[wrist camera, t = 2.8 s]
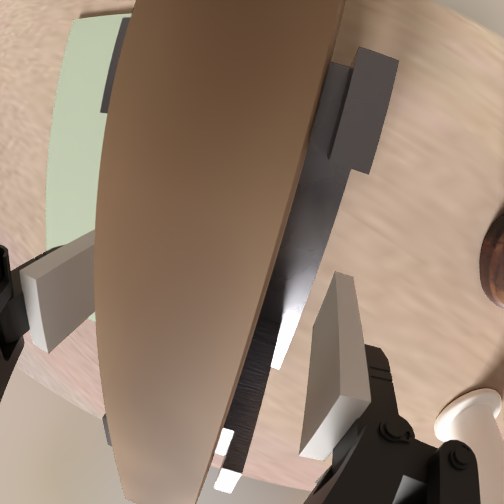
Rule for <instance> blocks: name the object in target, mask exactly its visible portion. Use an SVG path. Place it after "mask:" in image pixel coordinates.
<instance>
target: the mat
mask: <svg viewBox="0 0 504 504" xmlns="http://www.w3.org/2000/svg"><path fill="white" fill-rule="evenodd" d="M131 15H132V13H130V14H116V15H105V16H96V17H88V18H81V19H74V20H73V24H72V27H71V31H70V34H69V38H68V41H67V45H66V49H65V53H64V57H63V62H62V66H61V71H60V75H59V80H58V85H57V91H56V97H55V103H54V109H53V116H52V123H51V131H50V140H49V150H48V163H47V179H46V248H47V251H48V250H49V249H51V248H53V247H57V246H61V245H66V244H68V243H69V242H71V241H73V240H75V239H77V238H79V237H81V236H83V235H85V234H87V233H89V232H90V231H92V230H94V229H95V218H96V202H97V190H98V179H99V169H100V161H101V153H102V145H103V138H104V132H105V125H106V119H107V114H106V113H100V110H101V104H102V99H103V94H104V89H105V84H106V79H107V75H108V70H109V66H110V62H111V58H112V54H113V50H114V46H115V42H116V39H117V35H118V32H119V28H120V25H121V21H122V18H125V17H131ZM88 319H90V320H92V321H94V322H96V319H95V312H94V313H93V314H92V315H90V316H89V317H88Z"/></svg>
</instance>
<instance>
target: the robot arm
mask: <svg viewBox="0 0 504 504" xmlns="http://www.w3.org/2000/svg"><path fill="white" fill-rule="evenodd" d="M94 241H95V229H94V230H92V231H90V232H89V233H87V234H85V235H83V236H81V237H79V238H77V239H75V240H73V241H71V242H69V243H68V244H66V245H61V246H57V247H53V248H51V249H49V250H48V251H46V252H44V253H43V255H42V254H40V255H39V256H37V257H35V259H34V258H33V259H31V260H30V261H28V262H26V263H24V264H23V265H21V266H19V267H17V268H16V269H14V270H12V271H10V263H9V255H8V249H7V248H6V247H5V246H2V245H0V402H1V399H2V396H3V394H4V391H5V389H6V386H7V384H8V381H9V379H10V376H11V374H12V371H13V369H14V367H15V365H16V362H17V360H18V358H19V356H20V354H21V351H22V349H23V347H24V339H23V335H24V334H25V333H26V332H27V331H29V330H30V334H31V339H32V343H33V344H34V345H36V346H37V347H39V348H40V349H42V350H43V351H45V352H46V353H48V354H49V353H50V352H51V351H52V350H53V349H54V348H55V347H56V346H57V345H58V344H59V343H61V342H62V341H63V340H64V339H65V338H66V337H67V336H68V335H69V334H70V333H72V332H73V331H74V330H75V329H76V328H77V327H78V326H79V325H80V324H81V323H83V322H84V321H85V320H86V319H87V318H88V317H89V316H90V315H92V314H93V313H94V312H95V296H94ZM332 452H333V458H332V465H331V466H330V467H329V468H328V469H327V470H326V472H325V473H324V474H323V475H322V476H321V477H320V478H319V479H318V480H317V481H316V483H318V484H317V485H316V487H315V488H314V490H313V491H312V493H311V494H310V495H309V497H308V498H307V500H306V501H305V502H304V504H481V501H480V485H479V474H478V465H477V460H476V456H475V454H474V452H473V451H472V449H471V448H470V447H469V446H468V445H466V444H465V443H464V442H461V441H459V440H449V441H446V442H444V443H443V444H442V445H441V446H440V447H439V448H435V447H433V446H430V445H428V444H425V443H423V442H421V441H419V440H417V439H415V434H414V432H413V429H412V427H411V426H410V424H409V423H408V422H407V421H406V420H405V419H404V418H402V417H401V416H399V414H398V408H397V403H396V397H395V392H394V386H393V383H392V376H391V373H390V366H389V361H388V359H387V357H386V356H385V354H384V353H383V351H382V350H381V348H377V347H374V346H370V345H366V344H364V339H363V332H362V326H361V320H360V313H359V307H358V302H357V296H356V290H355V285H354V280H353V277H352V276H349V275H345V274H342V273H339V272H336V271H335V273H334V276H333V278H332V281H331V283H330V286H329V288H328V291H327V294H326V296H325V299H324V301H323V304H322V306H321V309H320V311H319V313H318V316H317V318H316V321H315V323H314V325H313V333H312V345H311V356H310V367H309V377H308V386H307V396H306V404H305V413H304V421H303V429H302V436H301V444H300V451H299V456H302V457H307V458H312V459H317V460H322V461H325V460H326V459H327V457H328V456H329V455H330V454H331V453H332Z"/></svg>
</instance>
